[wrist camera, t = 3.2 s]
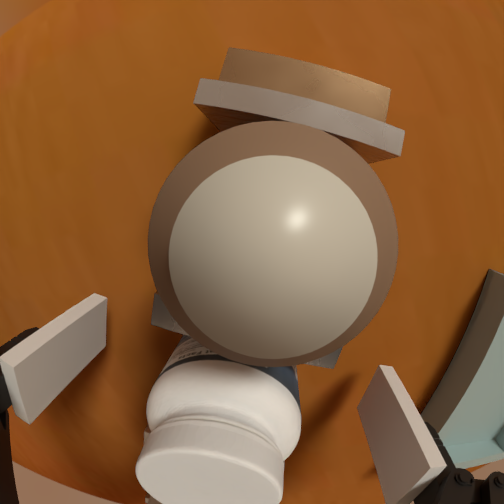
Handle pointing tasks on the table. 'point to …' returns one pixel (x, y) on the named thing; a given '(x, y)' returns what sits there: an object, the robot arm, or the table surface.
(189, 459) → the pill bottle
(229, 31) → the table surface
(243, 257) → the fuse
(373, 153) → the clip rail
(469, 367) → the tray
